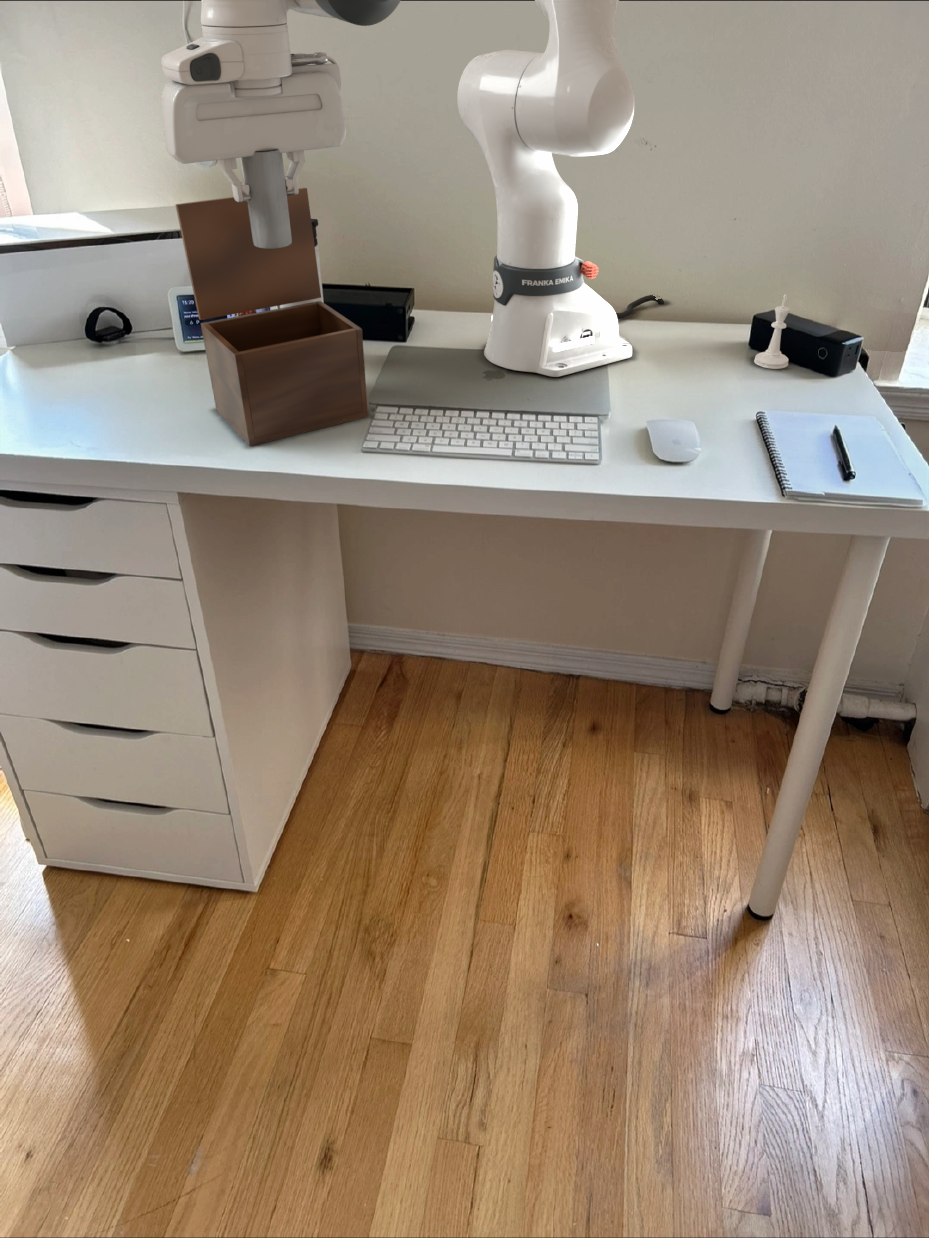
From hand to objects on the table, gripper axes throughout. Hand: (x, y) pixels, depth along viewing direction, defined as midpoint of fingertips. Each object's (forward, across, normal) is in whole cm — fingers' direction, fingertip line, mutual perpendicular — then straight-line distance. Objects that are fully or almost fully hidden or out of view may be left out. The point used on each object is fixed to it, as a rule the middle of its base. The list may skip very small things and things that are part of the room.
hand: (266, 197), depth 104 cm
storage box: (+27, 0, -1) cm, 27 cm away
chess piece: (+27, -68, +20) cm, 76 cm away
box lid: (+8, 0, -7) cm, 11 cm away
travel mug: (+27, -9, -16) cm, 33 cm away
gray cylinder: (+5, 0, 0) cm, 5 cm away
